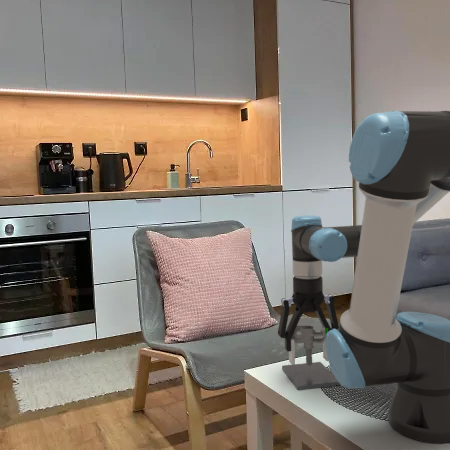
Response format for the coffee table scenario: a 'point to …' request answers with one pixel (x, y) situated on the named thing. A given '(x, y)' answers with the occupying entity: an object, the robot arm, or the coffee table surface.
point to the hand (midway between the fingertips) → (309, 360)
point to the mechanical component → (309, 339)
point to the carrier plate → (310, 376)
